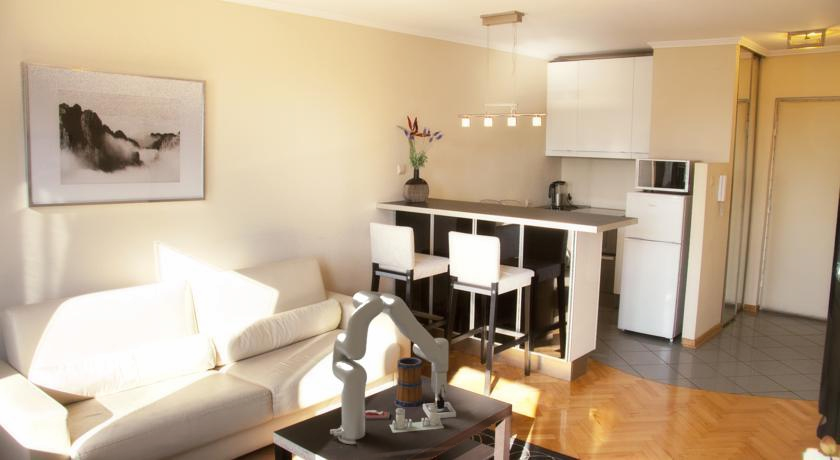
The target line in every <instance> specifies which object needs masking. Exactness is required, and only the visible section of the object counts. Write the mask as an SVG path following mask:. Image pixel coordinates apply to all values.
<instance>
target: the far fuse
mask: <svg viewBox="0 0 840 460" xmlns="http://www.w3.org/2000/svg"><path fill="white" fill-rule="evenodd" d="M428 411H429V418H428V425H429V426H431V427H435V426H437V413H438V411H437V406H436V405H430V406H428Z"/></svg>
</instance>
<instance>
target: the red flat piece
mask: <svg viewBox="0 0 840 460" xmlns="http://www.w3.org/2000/svg"><path fill="white" fill-rule="evenodd" d="M390 414H391V411H383V410H381V411H378V410H376V409H375V410H374V409H368V410H365V421H376V420H377V421H379V420H380V421H382V420H383V421H388V420H390V416H391V415H390Z"/></svg>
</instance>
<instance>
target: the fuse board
mask: <svg viewBox="0 0 840 460" xmlns="http://www.w3.org/2000/svg"><path fill="white" fill-rule="evenodd" d="M441 419H442V418H440V417H437V426H435V427H431V426H429V425H428V421H429V418H428V417H421V421H415V422H413V420H412V419H411V418H408V419H407V418H405V429H403V430H398V429H396V419H394V420H392V424H389V427H390V429H391V432H392V434H394V433H405V432H415V431H426V430H436V429H445V427H444V425H443V423H442V422H441Z"/></svg>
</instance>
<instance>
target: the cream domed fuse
mask: <svg viewBox="0 0 840 460" xmlns="http://www.w3.org/2000/svg"><path fill="white" fill-rule="evenodd" d="M405 419H406V408H401V407H397V408H395V424H396V429H398V430H403V429H405Z"/></svg>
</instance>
